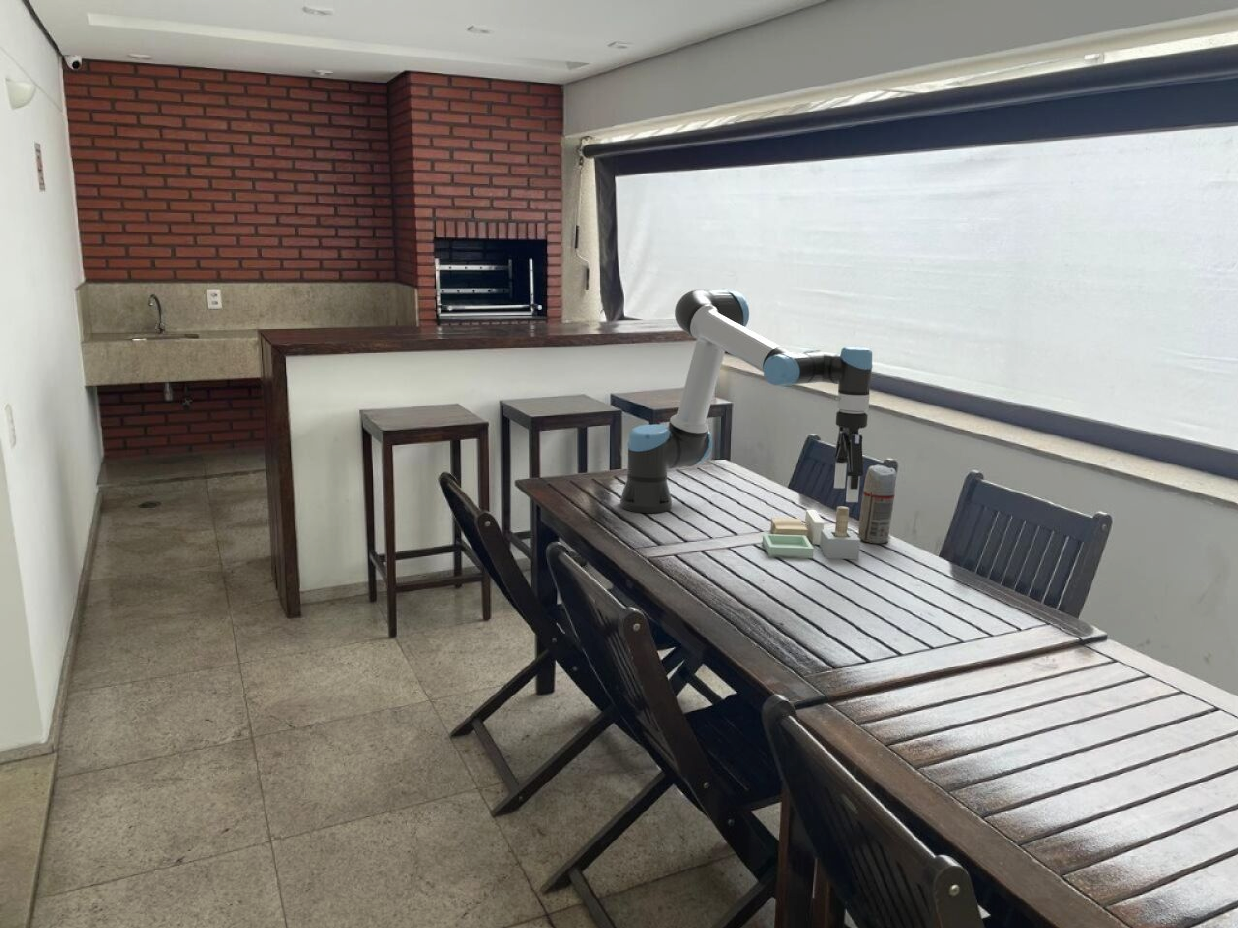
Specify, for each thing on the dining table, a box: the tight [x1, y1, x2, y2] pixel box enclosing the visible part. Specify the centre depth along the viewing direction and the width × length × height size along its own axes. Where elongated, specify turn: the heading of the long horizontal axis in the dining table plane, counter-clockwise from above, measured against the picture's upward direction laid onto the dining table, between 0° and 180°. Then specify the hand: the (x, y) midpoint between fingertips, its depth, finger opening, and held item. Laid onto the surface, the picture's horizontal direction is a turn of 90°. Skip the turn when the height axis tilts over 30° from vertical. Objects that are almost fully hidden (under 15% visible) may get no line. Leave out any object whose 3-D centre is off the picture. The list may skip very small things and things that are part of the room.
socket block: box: [819, 529, 861, 560], centre depth 245 cm, size 8×8×5 cm
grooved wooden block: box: [769, 517, 808, 538], centre depth 257 cm, size 10×8×4 cm
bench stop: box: [804, 509, 825, 546], centre depth 257 cm, size 12×2×6 cm, turn 0°
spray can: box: [857, 463, 898, 544], centre depth 256 cm, size 8×8×20 cm
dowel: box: [834, 506, 850, 537], centre depth 244 cm, size 3×3×12 cm
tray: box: [762, 533, 815, 559], centre depth 246 cm, size 11×11×2 cm
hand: (845, 494), depth 241 cm, fingers open, 13 cm apart
